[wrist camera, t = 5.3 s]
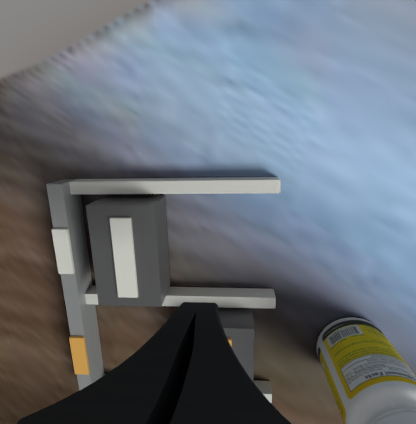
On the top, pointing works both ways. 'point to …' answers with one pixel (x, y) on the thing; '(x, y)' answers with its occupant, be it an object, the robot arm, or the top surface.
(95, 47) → the top surface
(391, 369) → the supplement bottle
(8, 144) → the top surface
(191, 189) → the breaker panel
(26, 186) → the top surface
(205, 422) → the robot arm
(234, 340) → the breaker
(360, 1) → the top surface
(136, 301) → the block
